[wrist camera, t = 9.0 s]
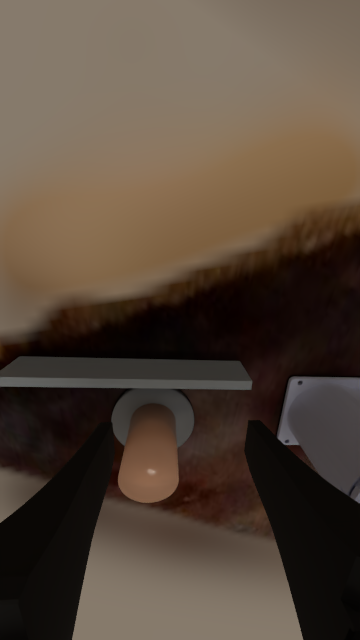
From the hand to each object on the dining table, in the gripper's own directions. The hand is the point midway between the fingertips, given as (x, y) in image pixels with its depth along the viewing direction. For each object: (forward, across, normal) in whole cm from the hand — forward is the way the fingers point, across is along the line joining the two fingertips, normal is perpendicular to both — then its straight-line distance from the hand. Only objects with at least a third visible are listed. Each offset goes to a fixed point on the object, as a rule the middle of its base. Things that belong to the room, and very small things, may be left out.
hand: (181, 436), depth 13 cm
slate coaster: (+10, +2, +7) cm, 12 cm away
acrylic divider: (+10, +4, +1) cm, 11 cm away
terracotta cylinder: (+9, +2, +7) cm, 12 cm away
